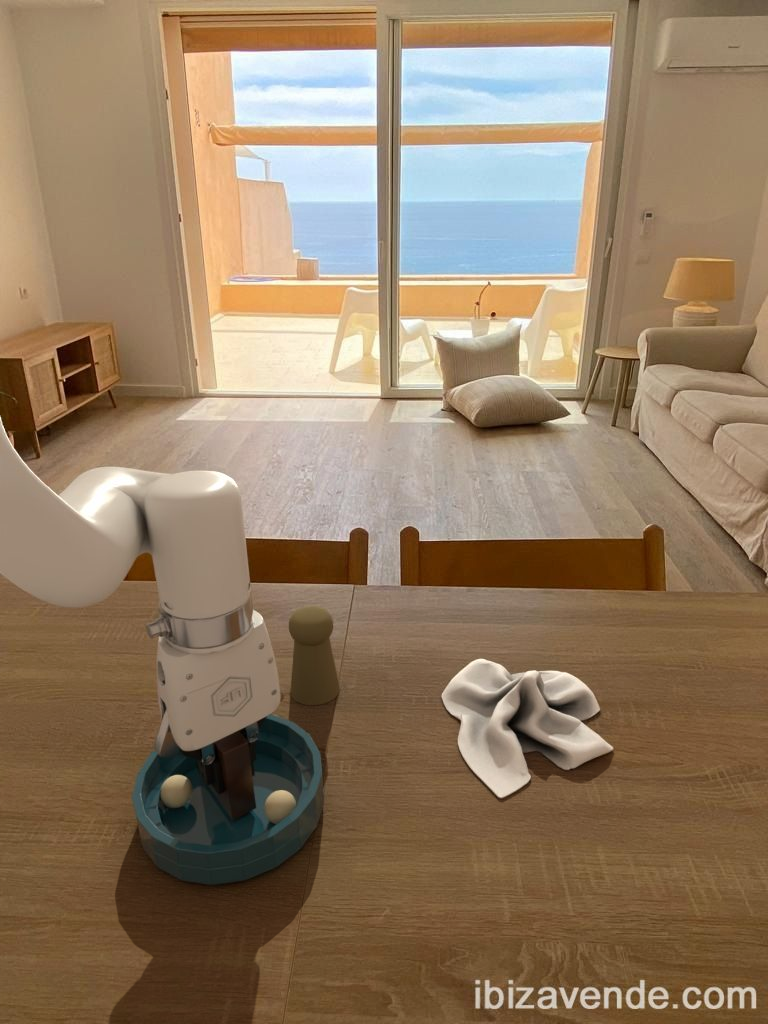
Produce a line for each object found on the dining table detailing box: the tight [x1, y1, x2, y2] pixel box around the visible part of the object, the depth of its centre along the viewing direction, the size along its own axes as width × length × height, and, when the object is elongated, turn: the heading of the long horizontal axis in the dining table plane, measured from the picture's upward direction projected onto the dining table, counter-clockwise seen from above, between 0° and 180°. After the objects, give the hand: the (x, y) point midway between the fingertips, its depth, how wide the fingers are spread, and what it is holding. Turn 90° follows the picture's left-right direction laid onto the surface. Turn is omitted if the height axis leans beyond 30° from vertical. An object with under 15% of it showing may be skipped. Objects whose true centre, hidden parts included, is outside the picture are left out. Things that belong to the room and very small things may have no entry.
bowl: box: [131, 713, 325, 886], centre depth 67 cm, size 18×18×4 cm
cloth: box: [441, 658, 614, 799], centre depth 78 cm, size 22×19×6 cm
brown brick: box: [197, 731, 256, 821], centre depth 67 cm, size 2×8×8 cm, turn 37°
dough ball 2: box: [264, 790, 296, 824], centre depth 66 cm, size 3×3×3 cm
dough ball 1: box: [160, 775, 192, 808], centre depth 67 cm, size 3×3×3 cm
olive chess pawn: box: [288, 605, 341, 706], centre depth 83 cm, size 6×6×11 cm
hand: (229, 775), depth 67 cm, fingers closed on brown brick, 2 cm apart
